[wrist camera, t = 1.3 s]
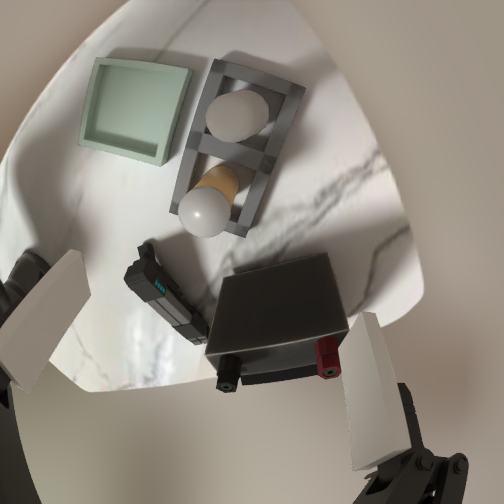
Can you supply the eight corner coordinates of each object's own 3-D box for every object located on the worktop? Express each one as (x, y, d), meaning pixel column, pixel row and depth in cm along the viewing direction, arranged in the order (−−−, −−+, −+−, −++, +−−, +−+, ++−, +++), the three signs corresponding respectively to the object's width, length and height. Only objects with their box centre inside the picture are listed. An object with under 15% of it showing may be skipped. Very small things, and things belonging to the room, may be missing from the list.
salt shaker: (259, 141, 32) (251, 164, 21) (215, 126, 31) (184, 142, 20) (276, 99, 29) (279, 97, 18) (231, 84, 28) (207, 74, 17)
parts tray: (86, 141, 32) (77, 144, 30) (104, 58, 26) (95, 57, 24) (166, 162, 34) (160, 166, 32) (193, 70, 27) (188, 69, 25)
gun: (152, 235, 40) (140, 290, 33) (214, 296, 54) (214, 342, 48) (131, 244, 41) (118, 297, 34) (195, 301, 55) (193, 346, 49)
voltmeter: (257, 338, 51) (249, 433, 34) (224, 272, 43) (197, 382, 26) (340, 320, 47) (359, 419, 30) (326, 246, 39) (356, 358, 22)
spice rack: (173, 206, 37) (145, 242, 29) (217, 60, 26) (195, 46, 18) (246, 231, 39) (238, 274, 30) (304, 88, 28) (317, 83, 19)
